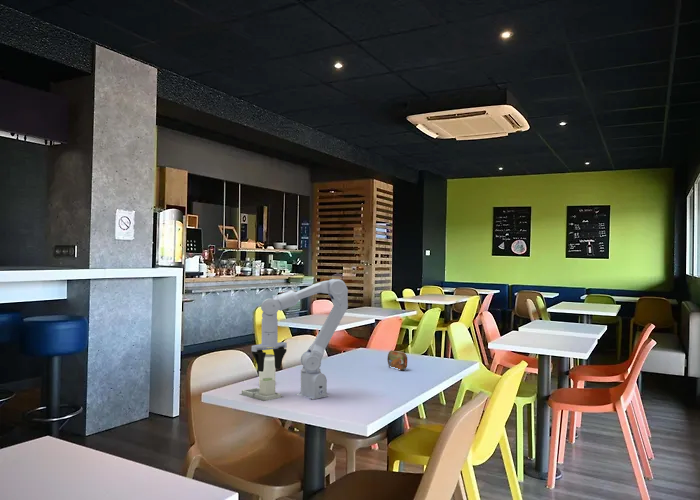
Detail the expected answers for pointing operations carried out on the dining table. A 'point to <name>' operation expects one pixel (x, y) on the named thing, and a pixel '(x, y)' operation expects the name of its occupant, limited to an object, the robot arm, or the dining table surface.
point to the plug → (267, 387)
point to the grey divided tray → (255, 394)
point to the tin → (397, 359)
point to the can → (268, 368)
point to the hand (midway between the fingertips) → (269, 369)
